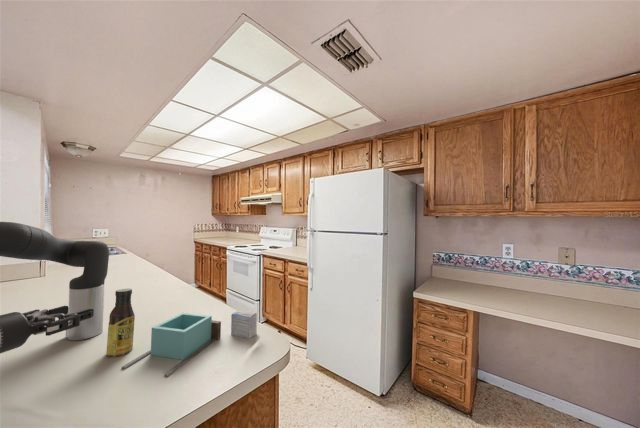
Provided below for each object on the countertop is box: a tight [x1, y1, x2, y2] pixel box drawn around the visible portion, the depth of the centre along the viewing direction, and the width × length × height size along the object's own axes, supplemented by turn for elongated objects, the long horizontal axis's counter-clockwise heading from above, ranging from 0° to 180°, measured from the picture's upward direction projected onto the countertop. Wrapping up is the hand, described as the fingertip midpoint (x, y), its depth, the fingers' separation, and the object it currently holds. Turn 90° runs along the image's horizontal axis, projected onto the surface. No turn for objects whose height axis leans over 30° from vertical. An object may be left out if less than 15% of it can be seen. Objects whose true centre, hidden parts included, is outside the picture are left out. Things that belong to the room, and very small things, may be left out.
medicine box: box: [230, 309, 258, 339], centre depth 89 cm, size 8×4×9 cm, turn 71°
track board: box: [121, 320, 222, 378], centre depth 77 cm, size 16×22×7 cm
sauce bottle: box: [105, 288, 136, 358], centre depth 76 cm, size 7×6×20 cm
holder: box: [150, 312, 213, 361], centre depth 79 cm, size 11×12×8 cm
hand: (79, 310), depth 65 cm, fingers open, 8 cm apart
